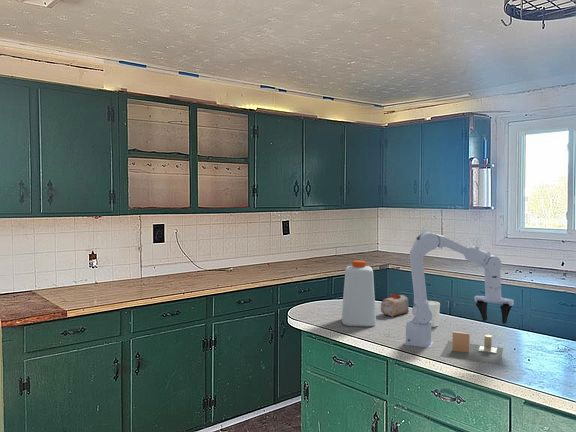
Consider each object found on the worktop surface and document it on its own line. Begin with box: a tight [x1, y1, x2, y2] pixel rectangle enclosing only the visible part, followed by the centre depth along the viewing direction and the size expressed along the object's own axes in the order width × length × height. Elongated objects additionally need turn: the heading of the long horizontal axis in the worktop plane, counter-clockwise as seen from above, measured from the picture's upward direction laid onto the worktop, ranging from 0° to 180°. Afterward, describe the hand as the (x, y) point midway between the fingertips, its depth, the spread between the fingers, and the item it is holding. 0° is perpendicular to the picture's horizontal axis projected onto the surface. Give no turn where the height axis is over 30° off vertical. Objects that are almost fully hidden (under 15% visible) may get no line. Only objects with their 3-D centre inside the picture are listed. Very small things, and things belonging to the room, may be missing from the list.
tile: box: [451, 331, 471, 353], centre depth 189 cm, size 6×1×7 cm, turn 64°
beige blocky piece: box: [479, 334, 497, 354], centre depth 189 cm, size 6×6×6 cm
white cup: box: [427, 300, 441, 328], centre depth 226 cm, size 8×8×10 cm
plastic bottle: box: [341, 259, 377, 328], centre depth 229 cm, size 15×15×28 cm
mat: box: [440, 340, 504, 366], centre depth 188 cm, size 20×20×1 cm
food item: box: [380, 293, 410, 318], centre depth 245 cm, size 14×8×10 cm, turn 131°
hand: (494, 321), depth 195 cm, fingers open, 7 cm apart
